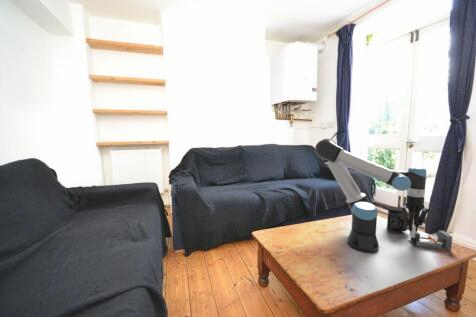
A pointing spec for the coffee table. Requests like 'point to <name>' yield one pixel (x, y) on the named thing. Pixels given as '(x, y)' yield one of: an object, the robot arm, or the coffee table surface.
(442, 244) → the gauge body
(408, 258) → the coffee table surface
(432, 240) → the orange upright plank
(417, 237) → the plunger
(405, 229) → the camera
